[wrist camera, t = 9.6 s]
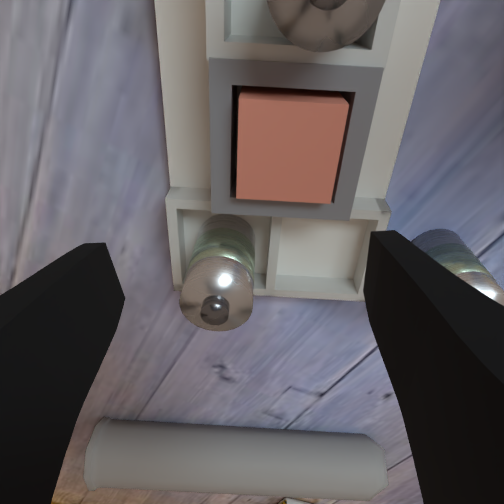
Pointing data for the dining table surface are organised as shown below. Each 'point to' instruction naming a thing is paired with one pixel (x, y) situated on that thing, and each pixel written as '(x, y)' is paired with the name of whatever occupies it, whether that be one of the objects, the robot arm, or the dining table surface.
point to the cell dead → (324, 21)
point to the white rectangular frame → (226, 135)
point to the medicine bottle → (292, 501)
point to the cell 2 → (459, 261)
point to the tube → (233, 460)
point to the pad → (289, 143)
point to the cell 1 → (220, 274)
